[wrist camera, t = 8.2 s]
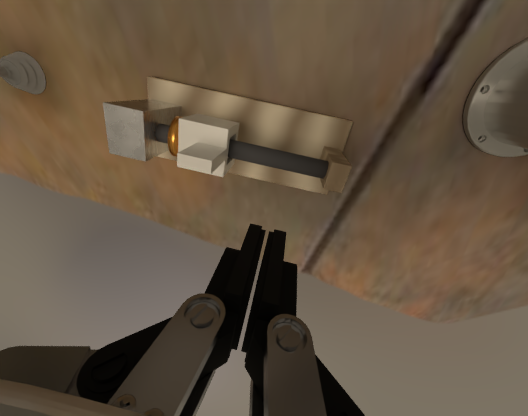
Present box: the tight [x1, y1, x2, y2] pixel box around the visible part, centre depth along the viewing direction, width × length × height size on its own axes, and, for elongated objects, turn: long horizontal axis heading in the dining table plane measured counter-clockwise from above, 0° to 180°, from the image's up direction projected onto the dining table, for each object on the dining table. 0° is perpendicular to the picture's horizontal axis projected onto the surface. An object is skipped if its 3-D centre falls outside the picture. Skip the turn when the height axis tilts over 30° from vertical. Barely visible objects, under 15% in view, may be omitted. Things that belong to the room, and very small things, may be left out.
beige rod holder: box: [147, 76, 353, 195], centre depth 28 cm, size 26×10×9 cm, turn 79°
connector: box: [103, 99, 182, 161], centre depth 27 cm, size 7×5×8 cm
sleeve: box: [177, 114, 239, 177], centre depth 24 cm, size 5×5×10 cm
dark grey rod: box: [155, 123, 329, 179], centre depth 26 cm, size 21×2×2 cm, turn 79°
